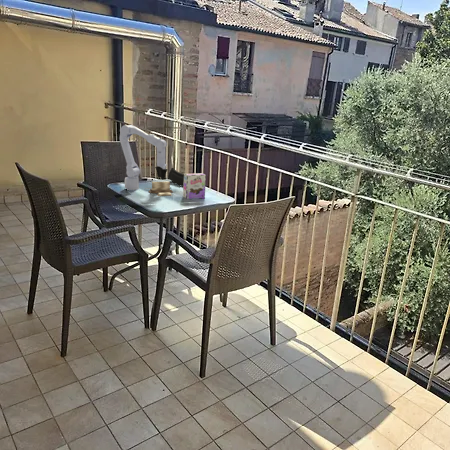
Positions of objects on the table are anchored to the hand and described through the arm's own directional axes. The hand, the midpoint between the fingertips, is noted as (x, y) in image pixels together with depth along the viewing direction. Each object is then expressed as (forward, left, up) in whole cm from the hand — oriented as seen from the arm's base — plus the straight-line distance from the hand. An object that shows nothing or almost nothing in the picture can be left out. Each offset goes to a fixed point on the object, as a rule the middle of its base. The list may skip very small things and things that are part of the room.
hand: (161, 178), depth 281 cm
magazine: (+22, +25, -11) cm, 35 cm away
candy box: (+18, -17, -11) cm, 27 cm away
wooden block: (0, 0, -11) cm, 11 cm away
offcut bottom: (0, -9, -11) cm, 14 cm away
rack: (0, 0, -11) cm, 11 cm away
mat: (0, +10, -11) cm, 14 cm away
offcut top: (0, -9, -10) cm, 13 cm away
